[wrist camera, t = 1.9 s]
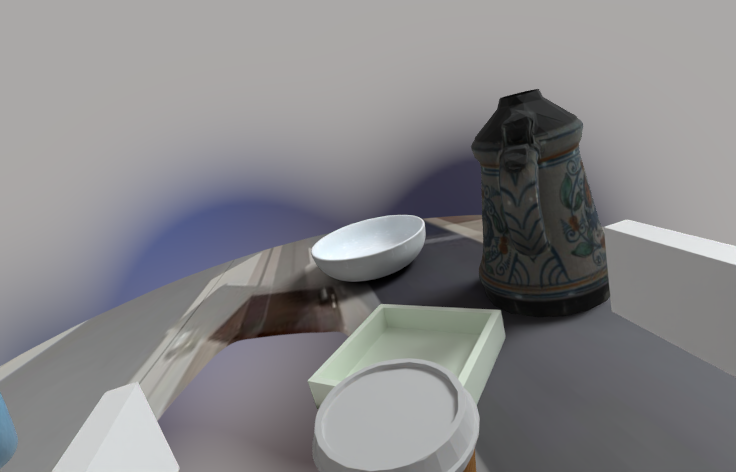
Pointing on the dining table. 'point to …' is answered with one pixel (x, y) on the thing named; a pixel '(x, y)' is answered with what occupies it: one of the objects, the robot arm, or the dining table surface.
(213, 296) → the dining table surface
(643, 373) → the dining table surface
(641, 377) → the dining table surface
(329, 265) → the serving bowl
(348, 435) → the disposable coffee cup
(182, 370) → the dining table surface
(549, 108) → the beer stein
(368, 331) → the tray
